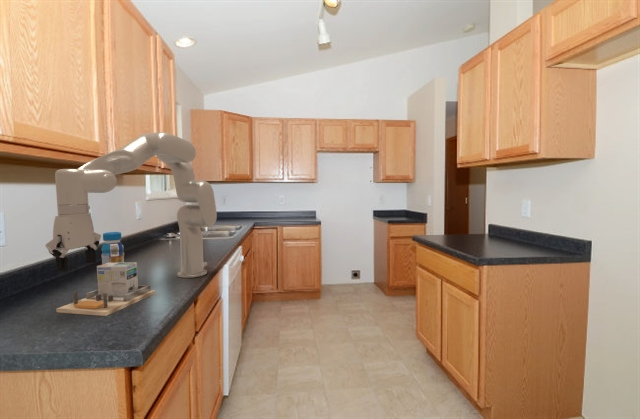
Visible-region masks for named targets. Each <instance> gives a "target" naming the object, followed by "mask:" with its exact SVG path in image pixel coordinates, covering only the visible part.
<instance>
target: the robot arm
mask: <svg viewBox="0 0 640 419" xmlns="http://www.w3.org/2000/svg"><path fill="white" fill-rule="evenodd" d="M155 156H156V157H157V159H158V160H159V161H161V162H162V163H164V164H165V165H166V166H167V167H168V168H169V169H170V171H171V172H172V173H171V174H172V177H173V181H174V186H175V187H174V188H175V193H176V197H177V199H178V200H179V201H180V202H181V203H196V204H185V205H182V206H180V207H179V209H177V213H176V219H177V224H178V228H179V243H180V244H179V246H180V249H179V250H180V271H178V272H177V277H179V278H183V279H184V278H186V279H188V278H189V279H191V278H198V277H203V276H205V275H207V274H208V270H207V269H206V268H205V267H206V266H208V262H207V261H204V237H203V232H202V230H201V228H200V227H205V228H206V227H211V226H213V225H214V224H216V222H217V213H218V212H217V206H216V200H215V193H214V189H213V186H212V185H211V184H210V183H209V182H208V181H206V180H197V179H196V177H195V172H194V168H193V165H192V163H190V162H193V161H194V160H195V159H196V156H197V150H196V147H195V146H194V144H193V143H192V142H190V140H189V141H188V140H187V139H184V138H182V137H179V136H177V135H174V134H172V133H169V132H164V131H159V132H158V131H157V132H146V133H143V134H140V135H139V136H137V137H136V138H134V139H132V140H131V141H128V143H126V144H125V145H123V146H122V147H120V148H118V149H116V150H112V151H111V152H108V153H107V154H104V155H101V156H99V157H96V158H94V159H91V160H89V161H88V162H86V163H84V164H83V165H82V166H80V167H77V168H62V169H61V168H60V169H57V170H56V171H55V174H54V179H55V190H56V192H55V193H56V205H57V206H56V208H57V216H56V215H55V216H54V222H53V226H52V227H53V229H52V239H51V240H50V241H48V242H47V243H46V244H45V248H46V249H47V251H48V253H49V254H50V255H51V256H52V257H53V258H55V265H56V266H55V267H56V271H57V272H67V271H68V270H69V268H68V266H69V264H68V257H67V256H66V255H67V253H68V252H69V251H70V250H75V249H80V248H84V249H85V248H86V250H85V252H84V253H85V263H88V264H95V263H97V253H96V250H97V251H98V246H99V245H100V241H101V238H102V235H101V234H99V233H97V232H95V229H94V224H93V219H92V215H91V213H90V209H91V206H90V205H89V194H103V193H108V192H111V191H112V190H114V189H115V188H116V186H117V184H118V180H117V177H116V176H117V175H121V174H125V173H129V172H132V171H135V170H137V169H138V168H140V167H141V166H143V165H144V164H145V163H146V162H148V161H149V160H150V159H152V158H153V157H155ZM204 268H205V269H204Z"/></svg>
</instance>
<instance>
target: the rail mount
mask: <svg viewBox="0 0 640 419" xmlns="http://www.w3.org/2000/svg"><path fill="white" fill-rule="evenodd" d="M151 287H152V286H151V285H149V284H138V290H136V291H133V292H131V293H128V294H126V295H123V297H113V295H110V296H108V297H107V293H104V294H103V297H101V295H98V288H97V289H95V290H91V291H89V292H85V294H86V295H85V296H86V297H84V298H82V299H78V291H77V290H76V291H73V294H72V295H73V302H70V303H68V304H65V305H63V306H60V307H57V308H56V313H58V314H59V313H61V314H73V315H75V314H76V315H87V316H101V317H107V316H109V315H111V314H113V313H116V312H118V311H121V310H122V309H125V308H127V307H130V306H131V305H134V304H136V303H138V302H140V301H142V300H144V299H147V298H150V297H151V296H153V295H156V290H152V288H151ZM83 301H98V302H104V306H102V307H99V308H97V309H91V308H77V307H74V305H75V304H78V303H80V302H83Z"/></svg>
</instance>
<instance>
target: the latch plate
mask: <svg viewBox="0 0 640 419" xmlns="http://www.w3.org/2000/svg"><path fill="white" fill-rule="evenodd" d="M102 306H104V302H98V301H83V302H80V303H78V304H75V305H74V307H77V308H91V309H97V308H99V307H102Z"/></svg>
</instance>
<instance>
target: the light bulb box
mask: <svg viewBox="0 0 640 419" xmlns="http://www.w3.org/2000/svg"><path fill="white" fill-rule="evenodd" d="M96 275H97V278H96V280H97V289H98V295H101V297H103V294H104V293H107V297H108V296H110V295H113V297H123V295H126V294H128V293H131V292H133V291H136V290H138V285H139V279H138V278H139V276H138V262H136V261H135V262H124V263H106V264H103V265H102V264H100V265H96Z"/></svg>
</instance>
